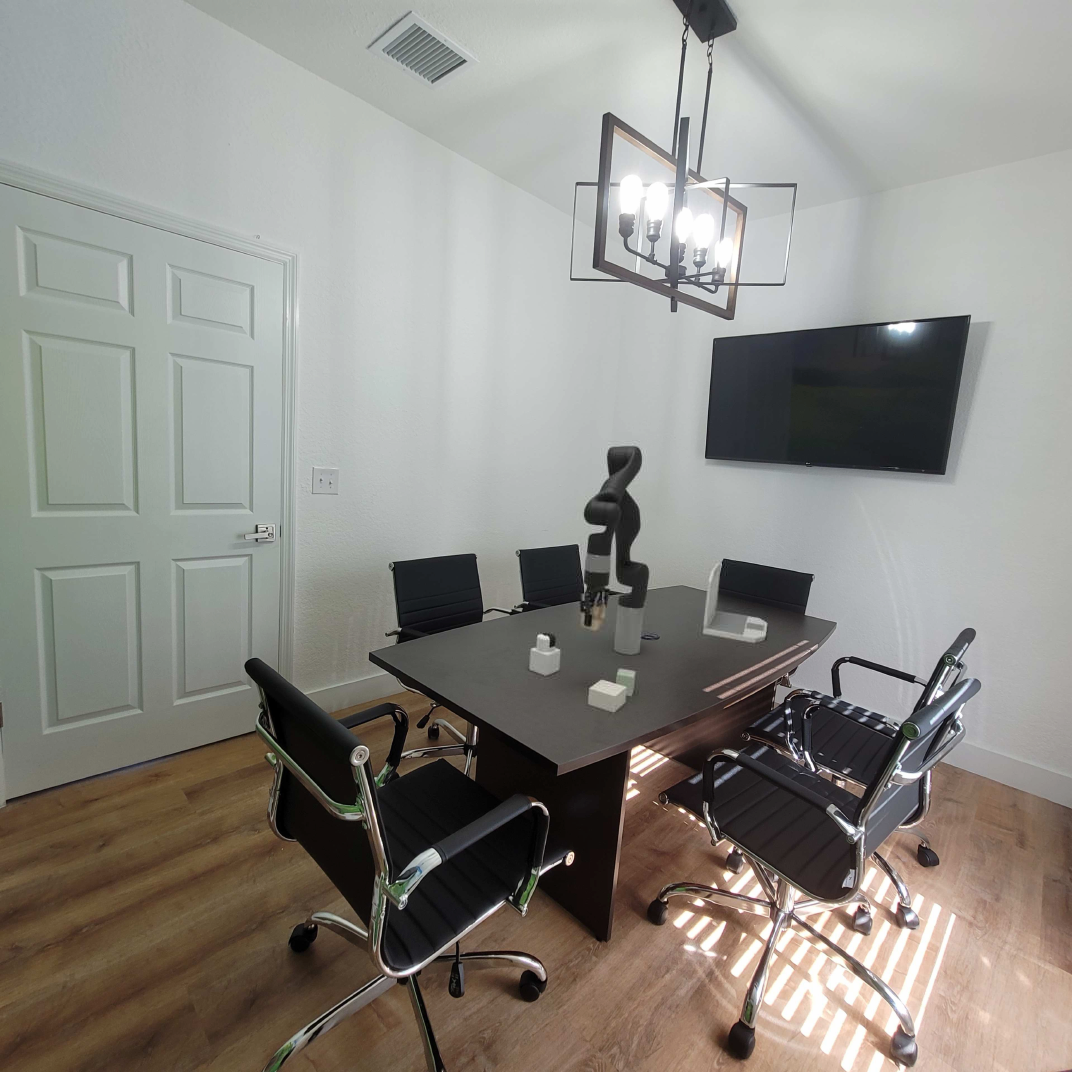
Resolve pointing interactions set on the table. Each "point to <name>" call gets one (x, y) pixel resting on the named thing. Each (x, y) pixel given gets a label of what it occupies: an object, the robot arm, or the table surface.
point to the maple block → (595, 617)
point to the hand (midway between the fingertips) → (592, 624)
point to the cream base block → (607, 695)
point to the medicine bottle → (545, 655)
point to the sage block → (626, 680)
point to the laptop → (729, 617)
